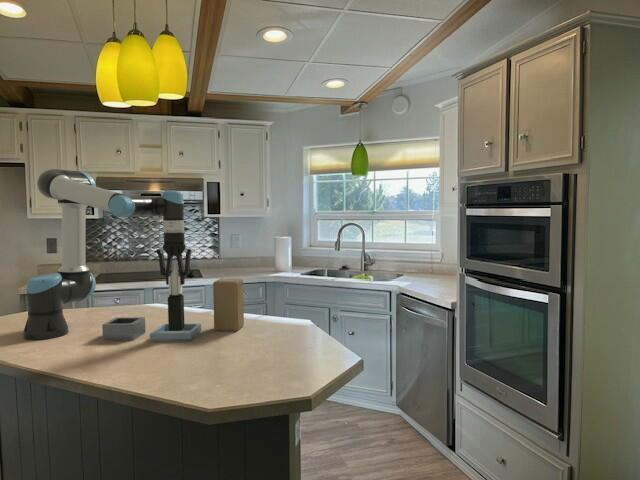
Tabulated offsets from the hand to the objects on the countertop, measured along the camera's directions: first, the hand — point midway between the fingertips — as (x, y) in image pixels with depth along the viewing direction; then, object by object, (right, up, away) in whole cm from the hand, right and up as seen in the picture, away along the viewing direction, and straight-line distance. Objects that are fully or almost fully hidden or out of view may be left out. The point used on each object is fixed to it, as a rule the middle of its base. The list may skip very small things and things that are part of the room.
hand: (175, 293), depth 175 cm
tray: (0, -17, +1) cm, 17 cm away
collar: (-20, -17, +1) cm, 26 cm away
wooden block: (+18, -16, +12) cm, 27 cm away
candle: (0, -14, +1) cm, 14 cm away
